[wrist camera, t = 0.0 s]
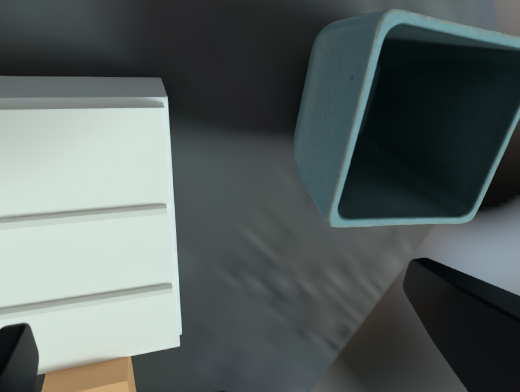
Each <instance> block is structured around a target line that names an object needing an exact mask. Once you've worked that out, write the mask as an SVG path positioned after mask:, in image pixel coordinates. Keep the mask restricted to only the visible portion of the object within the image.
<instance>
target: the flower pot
mask: <svg viewBox="0 0 520 392" xmlns="http://www.w3.org/2000/svg"><path fill="white" fill-rule="evenodd" d="M519 118H520V37H519V36H513V35H509V34H504V33H499V32H495V31H490V30H485V29H481V28H477V27H472V26H469V25H464V24H459V23H455V22H451V21H446V20H442V19H438V18H434V17H429V16H425V15H422V14H418V13H413V12H410V11H406V10H401V9H388V10H384V11H379V12H374V13H369V14H365V15H360V16H355V17H350V18H346V19H342V20H338V21H335V22H332V23H330V24H329V25H327V26H326V27H324V28H323V29H322V30H321V31H320V33H319V34H318V36H317V37H316V39H315V41H314V44H313V47H312V50H311V54H310V58H309V64H308V69H307V74H306V79H305V85H304V90H303V95H302V100H301V105H300V110H299V114H298V119H297V124H296V129H295V135H294V142H293V157H294V164H295V168H296V170H297V173H298V175H299V177H300V179H301V181H302V182H303V184H304V186H305V188H306V189H307V191H308V193H309V194H310V196H311V197H312V199H313V201H314V202H315V204H316V205H317V207H318V209H319V210H320V212H321V213H322V215H323V217H324V218H325V220H326V221H327V223H328V224H329V226H331V227H343V228H344V227H363V226H381V225H410V224H461V223H465V222H468V221H470V220H471V219H473V217H474V215H475V214H476V212H477V210H478V208H479V206H480V204H481V201H482V199H483V197H484V195H485V193H486V191H487V189H488V186H489V184H490V182H491V179H492V177H493V175H494V173H495V170H496V168H497V166H498V164H499V162H500V159H501V157H502V155H503V153H504V151H505V148H506V147H507V145H508V142H509V140H510V137H511V135H512V133H513V130H514V128H515V126H516V124H517V122H518V120H519Z"/></svg>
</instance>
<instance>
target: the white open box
mask: <svg viewBox="0 0 520 392" xmlns="http://www.w3.org/2000/svg"><path fill="white" fill-rule="evenodd" d="M111 102H163V104H164V107H165V121H166V137H167V152H168V168H169V183H170V199H171V214H172V230H173V245H174V261H175V276H176V292H177V307H178V323H179V335H181V334H182V329H181V312H180V295H179V278H178V262H177V245H176V228H175V212H174V195H173V178H172V162H171V145H170V128H169V112H168V97H167V94H166V91H165V88H164V85H163V82H162V79H161V78H154V77H53V76H0V104H1V103H111Z"/></svg>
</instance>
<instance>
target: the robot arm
mask: <svg viewBox="0 0 520 392" xmlns="http://www.w3.org/2000/svg"><path fill="white" fill-rule="evenodd" d="M403 289H404V292H405V294H406V295H407V297H408V299H409V301H410V302H411V304H412V306H413V308H414V310H415V311H416V313H417V315H418V316H419V318H420V320H421V322H422V323H423V325H424V327H425V329H426V330H427V332H428V334H429V335H430V337H431V339H432V341H433V342H434V344H435V345H436V347H437V348H438V350H439V351H440V353H441V354H442V356H443V357H444V358H445V360H446V361H447V363H448V364H449V365H450V367H451V368H452V370H453V371H454V373H455V374H456V375H457V377H458V378H459V380H460V381H461V383H462V384H463V386H464V387H465V388H466V390H467V391H468V392H520V296H519V295H516V294H514V293H511V292H509V291H506V290H504V289H501V288H499V287H497V286H494V285H492V284H489V283H487V282H485V281H482V280H480V279H477V278H475V277H472V276H470V275H467V274H465V273H463V272H460V271H458V270H455V269H453V268H451V267H448V266H445V265H443V264H441V263H438V262H436V261H434V260H431V259H429V258H418V259H413V260H411V261H410V262H409V265H408V268H407V271H406V275H405V278H404V281H403ZM38 365H39V352H38V348H37V345H36V342H35V339H34V336H33V332H32V329H31V327H30V325H29V324H28V323H25V322H23V323H17V324H11V325H6V326H3V327H2V328H1V329H0V392H35V387H36V379H37V372H38Z"/></svg>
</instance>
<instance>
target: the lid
mask: <svg viewBox="0 0 520 392" xmlns="http://www.w3.org/2000/svg"><path fill="white" fill-rule="evenodd" d="M23 322H25V323H28V324H29V325H30V327H31V329H32V332H33V336H34V339H35V342H36V345H37V348H38V352H39V365H38V372H37V375H38V374H43V373H46V375H45V379H44V383H43V388H42V392H136V387H135V381H134V374H133V368H132V362H131V356H133V355H138V354H143V353H148V352H153V351H158V350H163V349H168V348H173V347H178V346H180V338H179V323H178V307H177V292H176V276H175V261H174V245H173V230H172V214H171V199H170V183H169V168H168V152H167V137H166V121H165V107H164V104H163V102H111V103H1V104H0V329H1V328H2V327H3V326H6V325H11V324H17V323H23Z"/></svg>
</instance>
